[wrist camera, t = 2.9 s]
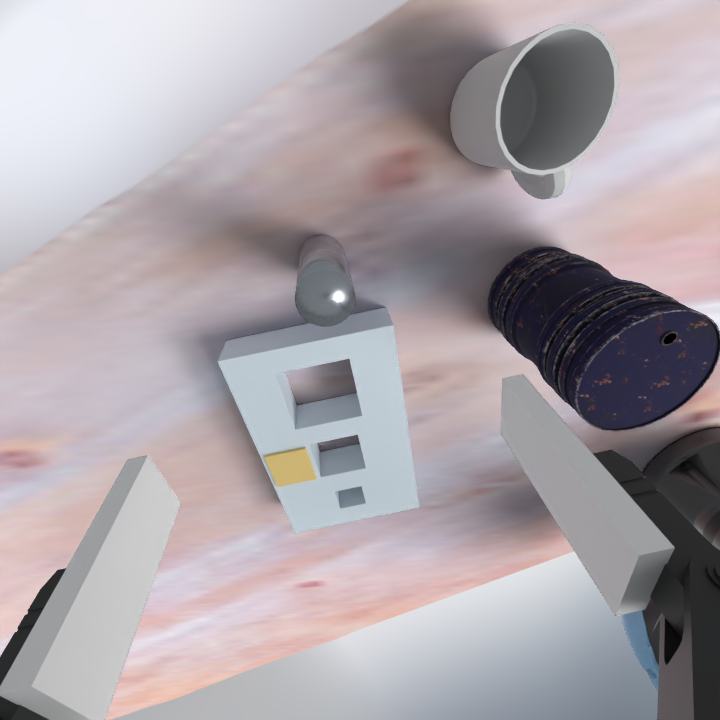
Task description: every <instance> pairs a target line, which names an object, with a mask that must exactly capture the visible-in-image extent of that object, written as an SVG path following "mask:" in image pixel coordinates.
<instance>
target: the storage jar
mask: <svg viewBox="0 0 720 720" xmlns="http://www.w3.org/2000/svg"><path fill="white" fill-rule="evenodd" d="M488 313H489V316H490V319H491V321H492V323H493V324H494V325H495V326H496V328H497V329H498V330H499V331H500V332H501V333H502V335H503V336H504V338H505V339H506V340H507V341H508V342H509V343H510V344H511V345H512V346H513V347H514V348H515V349H516V350H517V352H519V353H520V354H521V355H523V356H524V357H525V358H527V359H529V360H531V361H532V362H533V363H534V364H535V365H536V366H537V367H538V370H539V372H540V374H541V375H542V377H543V379H544V380H545V381H546V383H547V384H548V385H549V386H551V387H552V388H553V389H554V391H555V392H556V393H557V394H558V395H559V396H560V397H561V398H562V399H563V400H564V401H565V402H566V403H568V404H569V405H570V406H571V407H572V408H573V409H575V410H576V412H577V413H578V414H579V415H580V416H581V417H582V418H583V419H584V420H585V421H586V422H587V423H588V424H590V425H591V426H593V427H595V428H597V429H601V430H605V431H626V430H632V429H636V428H640V427H643V426H646V425H649V424H651V423H654V422H656V421H658V420H660V419H662V418H664V417H666V416H668V415H669V414H671V413H673V412H674V411H676V410H677V409H678V408H680V407H681V406H683V405H684V404H685V403H686V402H687V401H689V400H690V399H691V398H692V397H693V396H694V395H695V394H696V393H697V392H698V391H699V390H700V389H701V388H702V387H703V385H704V384H705V383H706V381H707V380H708V379H709V377H710V376H711V374H712V372H713V371H714V369H715V367H716V365H717V362H718V360H719V357H720V331H719V328H718V326H717V325H716V324H715V322H714V321H713V320H712V319H710V318H709V317H708V316H706V315H704V314H702V313H700V312H698V311H696V310H693V309H691V308H688V307H686V306H685V305H683V304H680V303H679V302H678V301H676V300H675V299H673V298H672V297H670V296H667V295H665V294H663V293H661V292H658V291H656V290H653V289H651V288H650V287H648V286H646V285H644V284H641V283H637V282H633V281H627V280H620V279H618V278H616V277H614V276H612V274H611V273H610V272H609V271H608V270H606V269H605V268H604V267H602V266H601V265H600V264H598V263H596V262H594V261H591V260H588V259H586V258H584V257H582V256H579V255H577V254H571V253H569V252H567V251H565V250H563V249H560V248H556V247H539V248H535V249H532V250H528V251H526V252H524V253H522V254H520V255H519V256H517V257H516V258H514V259H513V260H512V261H510V262H509V263H508V264H507V265H506V266H505V267H504V268H503V269H502V270H501V272H500V273H499V274H498V276H497V277H496V279H495V281H494V282H493V284H492V287H491V290H490V293H489V297H488Z"/></svg>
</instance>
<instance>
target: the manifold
mask: <svg viewBox="0 0 720 720" xmlns="http://www.w3.org/2000/svg"><path fill="white" fill-rule="evenodd" d="M346 359H350V364H351V368H352V373H353V377H354V381H355V386H356V390H357V393H355V394H350V395H345V396H340V397H335V398H331V399H326V400H321V401H316V402H311V403H307V404H302V405H296V402H295V399H294V396H293V393H292V390H291V387H290V384H289V381H288V379H287V376H286V373H285V372H288V371H293V370H298V369H302V368H307V367H312V366H317V365H322V364H326V363H331V362H336V361H341V360H346ZM217 362H218V364H219V366H220V368H221V371H222V373H223V375H224V377H225V379H226V382H227V384H228V386H229V388H230V391H231V393H232V395H233V397H234V399H235V402H236V404H237V406H238V408H239V411H240V413H241V415H242V417H243V419H244V422H245V424H246V426H247V428H248V430H249V433H250V435H251V437H252V439H253V442H254V444H255V446H256V448H257V450H258V453H259V455H260V457H261V459H262V462H263V464H264V466H265V468H266V470H267V473H268V475H269V477H270V479H271V481H272V484H273V486H274V488H275V490H276V493H277V495H278V497H279V499H280V501H281V504H282V506H283V508H284V510H285V513H286V515H287V517H288V519H289V521H290V524H291V526H292V528H293V530H294V532H295V533H299V532H304V531H309V530H314V529H319V528H324V527H328V526H333V525H338V524H343V523H348V522H352V521H357V520H362V519H367V518H372V517H376V516H381V515H386V514H391V513H396V512H401V511H405V510H410V509H415V508H420V507H419V500H418V493H417V486H416V479H415V471H414V464H413V457H412V450H411V443H410V436H409V429H408V422H407V415H406V408H405V401H404V394H403V387H402V380H401V373H400V366H399V359H398V352H397V345H396V338H395V331H394V325H393V322H392V320H391V318H390V315H389V313H388V310H387V308H386V307H385V308H380V309H375V310H370V311H366V312H361V313H356V314H351V315H349V317H348V318H347V319H346V320H344V321H343V322H341V323H340V324H337V325H335V326H330V327H321V326H316V325H313V324H311V323H308V324H303V325H298V326H293V327H289V328H284V329H279V330H274V331H269V332H264V333H260V334H255V335H250V336H245V337H240V338H236V339H231V340H226V342H225V345H224V347H223V350H222V352H221V354H220V357H219V359H218V361H217ZM354 435H358V438H359V442H360V444H356V445H351V446H346V447H341V448H336V449H331V450H327V451H322V452H320V449H319V446H318V443H320V442H325V441H330V440H334V439H339V438H344V437H349V436H354Z"/></svg>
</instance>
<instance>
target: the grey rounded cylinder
mask: <svg viewBox="0 0 720 720" xmlns="http://www.w3.org/2000/svg"><path fill="white" fill-rule="evenodd" d="M295 303H296V307H297V309H298V311H299V313H300V314H301V316H302V317H303V318H304V319H305V320H306V321H308V322H309V323H311V324H313V325H316V326H321V327H330V326H335V325H337V324H340V323H341V322H343V321H344V320H346V319H347V318H348V317H349V315H350V314H351V313H352V311H353V309H354V305H355V292H354V288H353V285H352V281H351V277H350V273H349V270H348V266H347V262H346V258H345V254H344V251H343V248H342V246H341V245H340V243H339V242H338V241H337V240H336V239H334V238H333V237H330V236H327V235H316V236H313V237H311V238H309V239H308V240H307V241H306V242H305V243H304V244H303V246H302V248H301V251H300V258H299V267H298V276H297V285H296V294H295Z"/></svg>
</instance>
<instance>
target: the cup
mask: <svg viewBox="0 0 720 720" xmlns="http://www.w3.org/2000/svg"><path fill="white" fill-rule="evenodd" d="M618 88H619V69H618V63H617V59H616V56H615V52H614V49H613V47H612V46H611V44H610V43H609V41H608V40H607V38H606V37H605V35H604V34H602V33H601V32H599V31H598V30H597V29H595V28H594V27H592V26H591V25H586V24H581V23H576V22H573V23H567V24H561V25H556V26H554V27H552V28H550V29H548V30H545V31H543V32H541V33H539V34H536V35H534V36H532V37H530V38H528V39H525V40H523V41H521V42H519V43H516V44H514V45H512V46H510V47H508V48H505V49H503V50H501V51H499V52H496V53H494V54H492V55H490V56H488V57H486V58H484V59H483V60H481V61H480V62H478V63H477V64H476V65H475V66H474V67H473V68H472V69H471V70H469V71H468V72H467V74H466V75H465V77H464V78H463V80H462V81H461V82H460V84H459V86H458V88H457V91H456V93H455V95H454V98H453V101H452V106H451V111H450V128H451V132H452V136H453V140H454V142H455V144H456V146H457V148H458V149H459V151H460V152H461V153H462V154H463V155H464V156H465V157H466V158H467V159H469V160H471V161H473V162H475V163H477V164H479V165H484V166H490V167H495V168H501V169H506V170H511V172H512V174H513V176H514V178H515V180H516V181H517V182H518V184H519V185H520V186H521V188H522V189H524V190H525V191H526V192H527V193H528V194H530V195H531V196H533V197H535V198H538V199H550V198H556V197H558V196H559V195H561V194H562V193H563V192H564V191H565V189H566V188H567V187H568V185H569V183H570V180H571V166H572V165H573V164H574V163H575V162H577V161H578V160H579V159H581V158H582V157H583V156H585V155H586V154H587V152H588V151H589V150H590V149H591V148H592V147H593V146H594V145H595V143H596V142H597V141H598V140H599V138H600V136H601V135H602V133H603V131H604V130H605V128H606V126H607V125H608V123H609V120H610V118H611V115H612V112H613V110H614V107H615V105H616V99H617V93H618Z"/></svg>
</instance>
